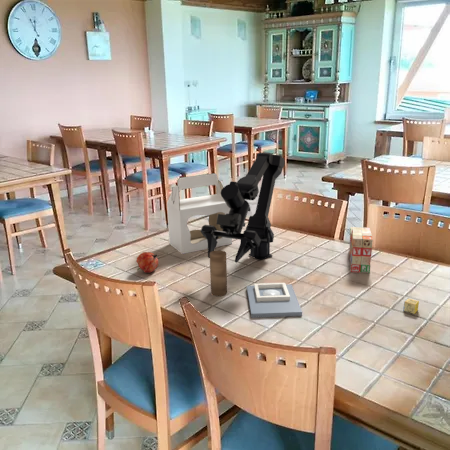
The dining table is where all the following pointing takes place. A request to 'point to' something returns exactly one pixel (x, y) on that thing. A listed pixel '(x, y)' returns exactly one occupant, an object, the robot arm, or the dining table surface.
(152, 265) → the pomegranate
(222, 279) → the walnut column
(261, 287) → the baseplate
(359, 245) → the stack of blocks
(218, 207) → the gable box
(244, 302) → the dining table surface
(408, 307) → the alphabet block
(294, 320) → the dining table surface
